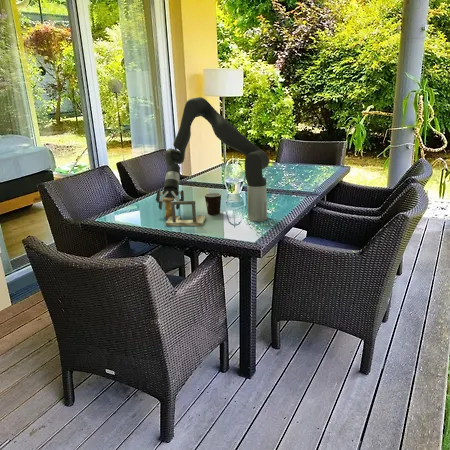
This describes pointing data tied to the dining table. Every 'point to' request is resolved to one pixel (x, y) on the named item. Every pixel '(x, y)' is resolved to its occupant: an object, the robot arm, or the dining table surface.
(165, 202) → the wooden knob
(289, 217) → the dining table surface
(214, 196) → the coffee mug
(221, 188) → the dining table surface
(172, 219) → the u-shaped handle base
